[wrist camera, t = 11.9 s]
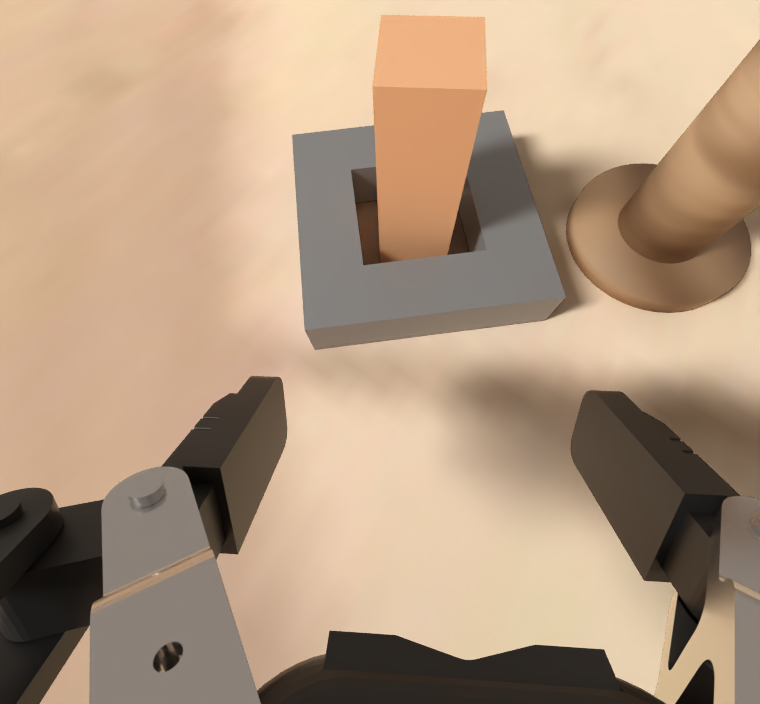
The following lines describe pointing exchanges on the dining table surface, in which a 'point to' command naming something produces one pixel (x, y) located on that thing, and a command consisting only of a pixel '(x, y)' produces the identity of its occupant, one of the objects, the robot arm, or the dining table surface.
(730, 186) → the bobbin
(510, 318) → the block with square hole
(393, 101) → the orange rectangular block
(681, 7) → the dining table surface
